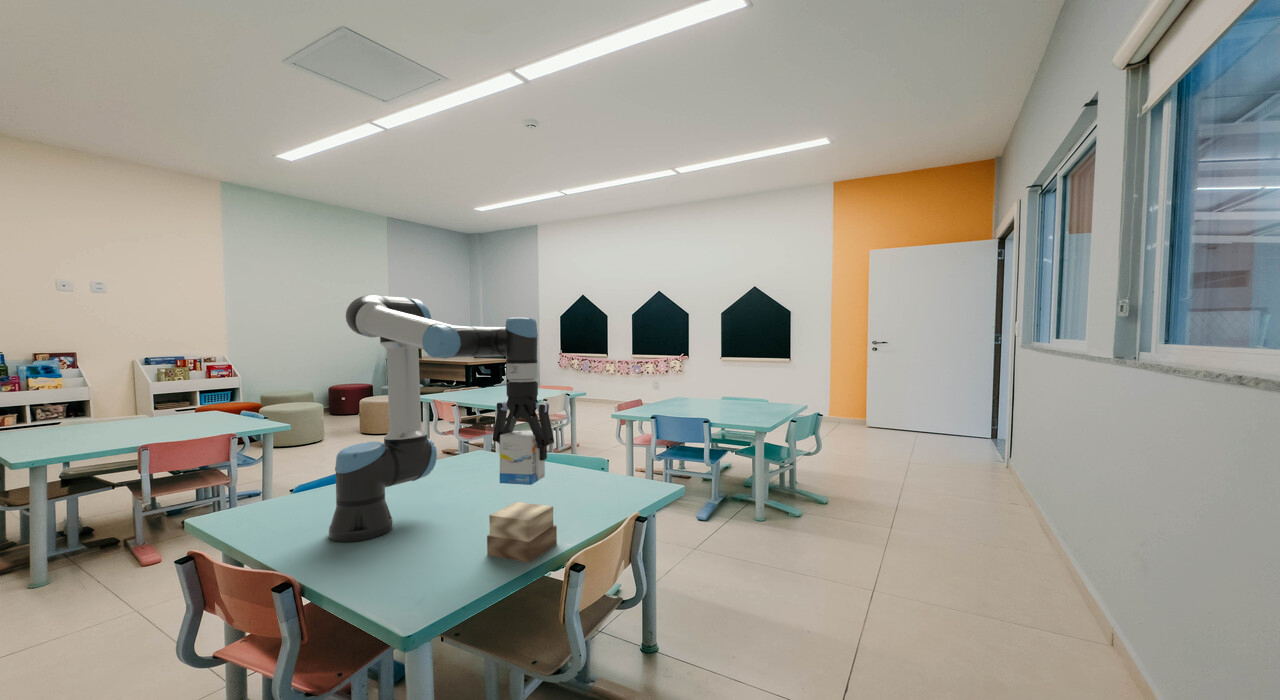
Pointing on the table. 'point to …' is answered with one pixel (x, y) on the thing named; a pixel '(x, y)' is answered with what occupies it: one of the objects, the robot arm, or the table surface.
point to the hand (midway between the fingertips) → (523, 471)
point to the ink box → (518, 458)
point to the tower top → (521, 521)
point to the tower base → (522, 546)
